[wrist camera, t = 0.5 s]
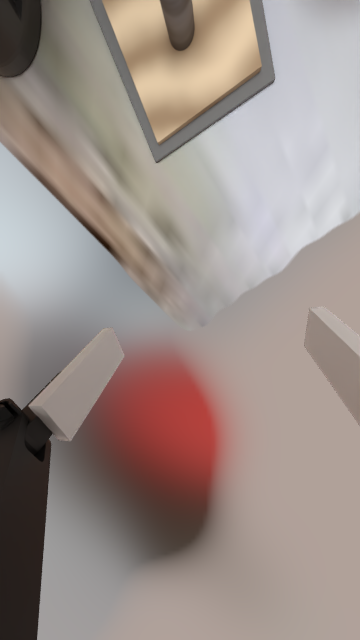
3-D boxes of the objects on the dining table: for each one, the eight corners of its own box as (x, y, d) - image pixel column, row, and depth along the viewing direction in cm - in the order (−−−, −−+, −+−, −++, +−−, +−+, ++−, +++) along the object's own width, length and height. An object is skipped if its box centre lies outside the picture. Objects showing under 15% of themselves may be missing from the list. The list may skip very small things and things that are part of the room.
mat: (90, -1, 23) (87, -6, 23) (230, -173, 17) (230, -185, 17) (156, 162, 30) (155, 161, 29) (273, 81, 24) (275, 78, 23)
